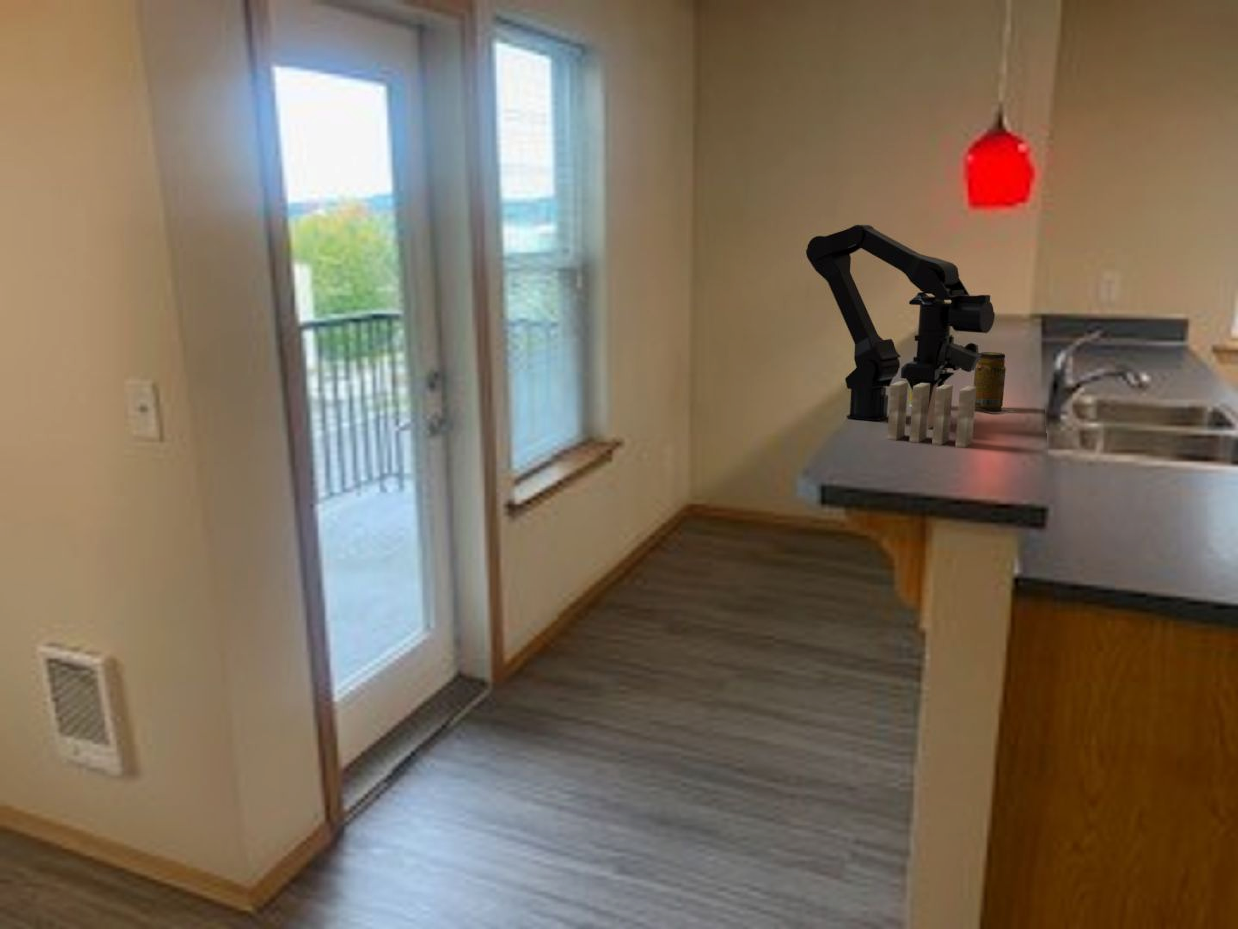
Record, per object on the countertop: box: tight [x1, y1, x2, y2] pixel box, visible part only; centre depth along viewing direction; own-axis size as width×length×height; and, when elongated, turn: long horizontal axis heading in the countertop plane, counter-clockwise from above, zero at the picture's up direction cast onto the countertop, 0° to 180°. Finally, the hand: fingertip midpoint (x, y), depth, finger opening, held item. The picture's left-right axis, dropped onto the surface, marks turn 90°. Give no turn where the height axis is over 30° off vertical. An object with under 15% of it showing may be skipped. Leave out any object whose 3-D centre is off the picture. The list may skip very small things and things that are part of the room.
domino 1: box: [886, 380, 909, 441], centre depth 168 cm, size 2×5×10 cm, turn 146°
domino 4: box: [931, 384, 954, 446], centre depth 163 cm, size 2×5×10 cm, turn 146°
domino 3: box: [927, 383, 938, 430], centre depth 177 cm, size 2×5×10 cm, turn 146°
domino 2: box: [908, 383, 930, 444], centre depth 165 cm, size 2×5×10 cm, turn 146°
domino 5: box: [955, 385, 976, 449], centre depth 161 cm, size 2×5×10 cm, turn 146°
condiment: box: [972, 351, 1017, 414], centre depth 194 cm, size 7×8×12 cm
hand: (928, 411), depth 178 cm, fingers closed on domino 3, 5 cm apart
